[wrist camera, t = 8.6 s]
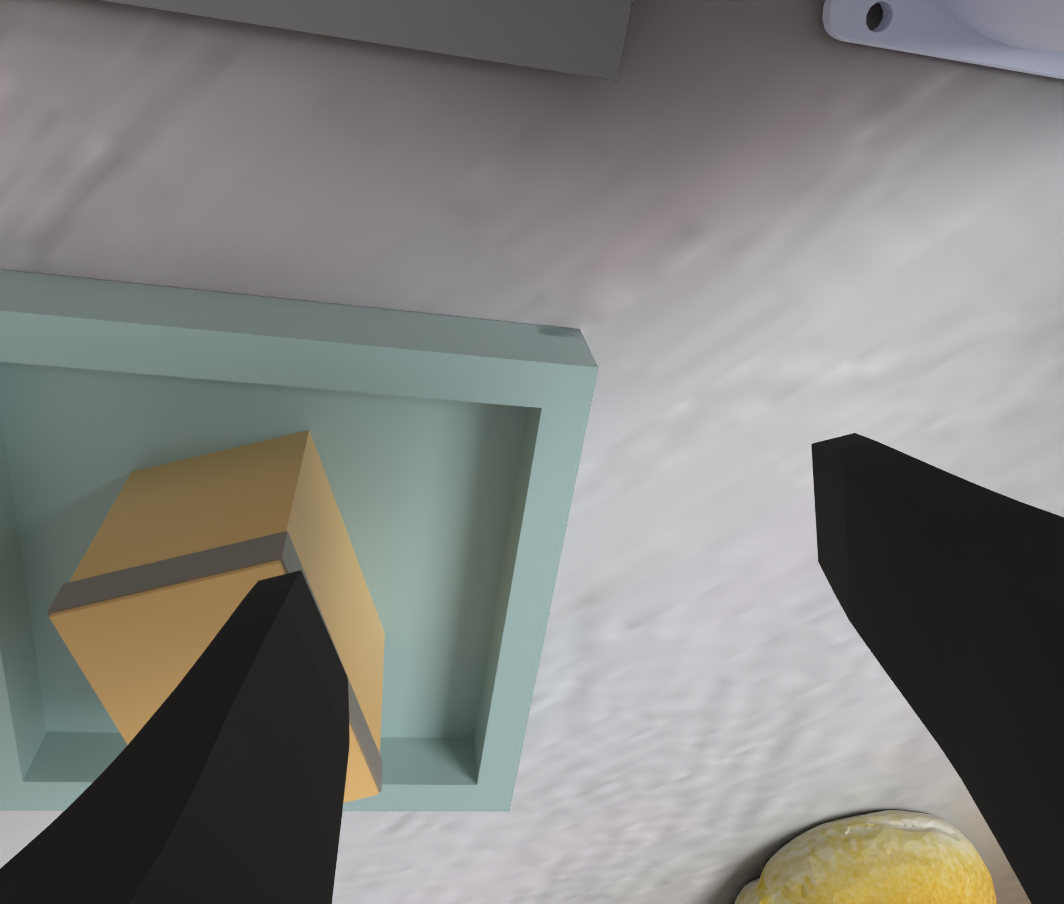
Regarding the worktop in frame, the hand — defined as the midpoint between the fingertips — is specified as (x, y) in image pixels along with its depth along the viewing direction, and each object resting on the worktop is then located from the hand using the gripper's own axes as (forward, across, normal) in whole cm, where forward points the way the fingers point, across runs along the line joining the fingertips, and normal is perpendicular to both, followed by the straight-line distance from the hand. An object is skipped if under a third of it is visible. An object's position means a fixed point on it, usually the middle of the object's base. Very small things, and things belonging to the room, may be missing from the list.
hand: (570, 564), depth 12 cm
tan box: (+8, +7, +4) cm, 11 cm away
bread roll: (+9, -7, +23) cm, 26 cm away
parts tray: (+8, +7, +4) cm, 11 cm away
